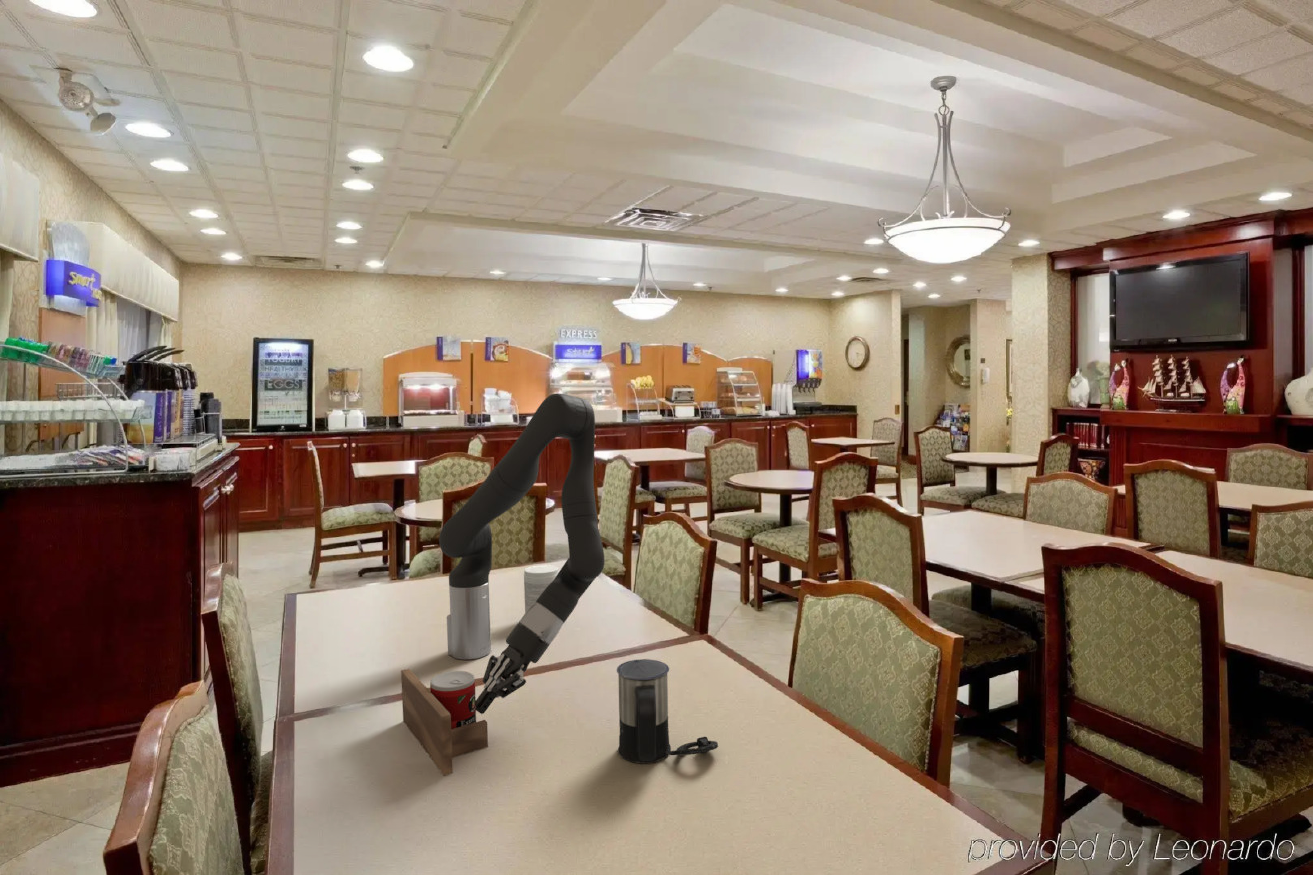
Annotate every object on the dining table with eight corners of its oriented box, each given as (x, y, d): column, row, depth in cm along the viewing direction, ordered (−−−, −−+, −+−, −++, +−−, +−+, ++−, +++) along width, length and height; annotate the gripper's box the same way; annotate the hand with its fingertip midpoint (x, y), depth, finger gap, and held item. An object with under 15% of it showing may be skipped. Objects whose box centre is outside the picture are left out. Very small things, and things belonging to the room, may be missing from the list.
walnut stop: (451, 708, 142) (450, 659, 141) (498, 758, 122) (496, 701, 122) (403, 721, 136) (401, 670, 136) (443, 775, 117) (441, 716, 116)
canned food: (465, 749, 125) (463, 689, 124) (423, 745, 127) (421, 686, 126) (484, 729, 133) (482, 672, 132) (445, 725, 134) (442, 669, 134)
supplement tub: (562, 625, 191) (560, 571, 190) (526, 629, 188) (524, 574, 187) (558, 614, 200) (557, 563, 199) (524, 617, 198) (522, 565, 197)
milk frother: (610, 744, 127) (608, 663, 126) (690, 726, 133) (689, 649, 132) (639, 784, 113) (638, 694, 112) (727, 763, 120) (726, 677, 118)
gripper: (508, 613, 142) (450, 688, 136) (537, 630, 131) (475, 713, 125) (533, 633, 145) (478, 708, 139) (563, 652, 135) (505, 734, 128)
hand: (477, 710), depth 132 cm, fingers closed
